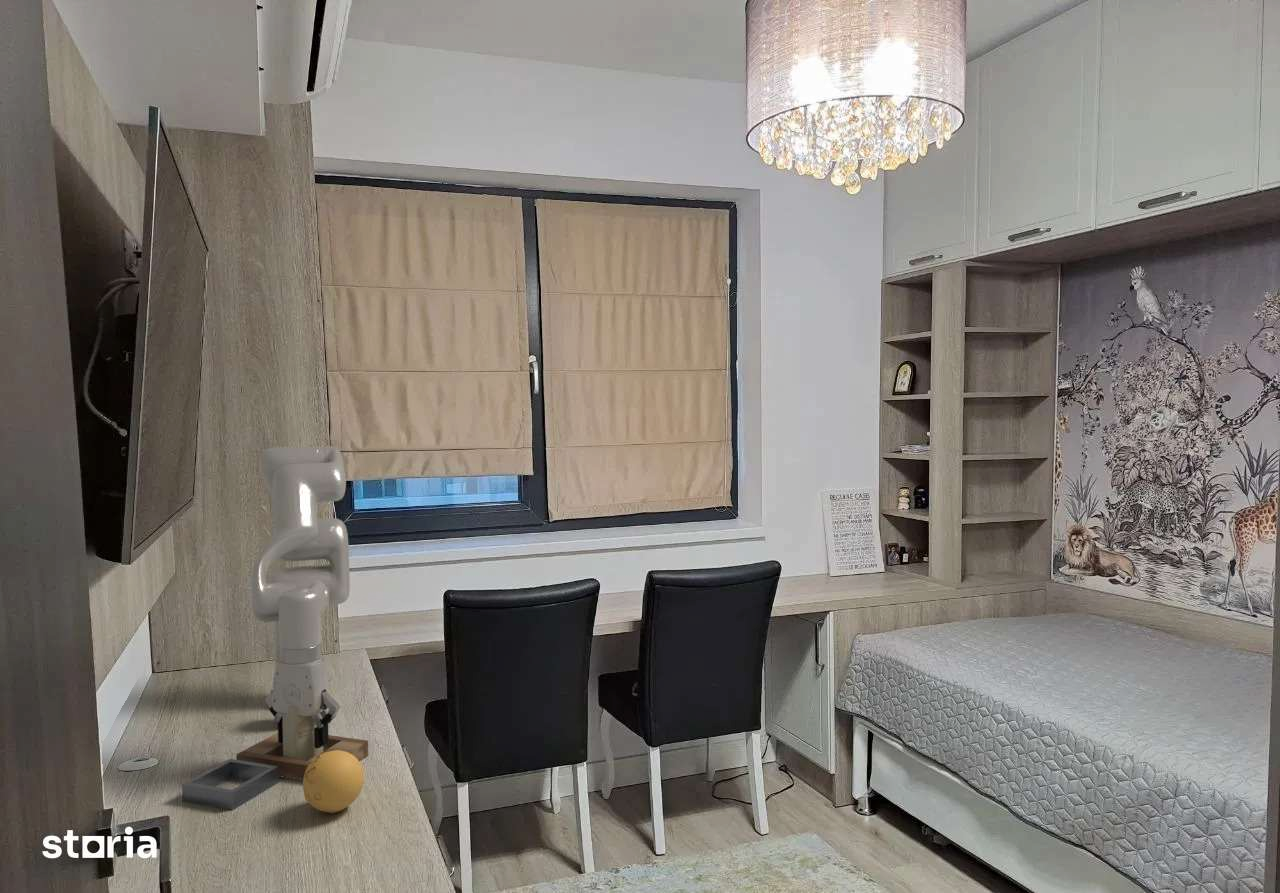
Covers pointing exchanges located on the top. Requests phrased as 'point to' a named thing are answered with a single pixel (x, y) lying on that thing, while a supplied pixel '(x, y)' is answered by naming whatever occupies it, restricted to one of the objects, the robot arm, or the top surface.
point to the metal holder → (208, 794)
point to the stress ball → (333, 781)
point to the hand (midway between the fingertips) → (303, 742)
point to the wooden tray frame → (293, 768)
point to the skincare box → (299, 736)
